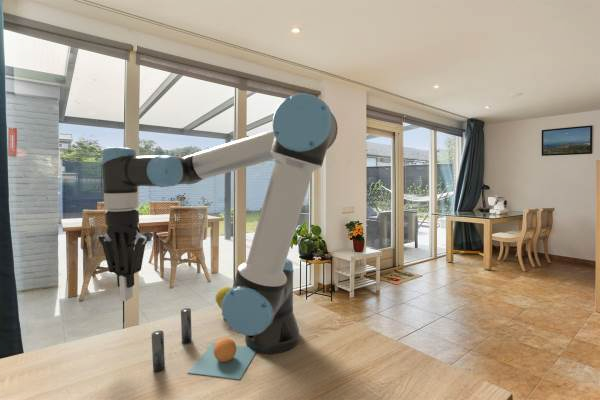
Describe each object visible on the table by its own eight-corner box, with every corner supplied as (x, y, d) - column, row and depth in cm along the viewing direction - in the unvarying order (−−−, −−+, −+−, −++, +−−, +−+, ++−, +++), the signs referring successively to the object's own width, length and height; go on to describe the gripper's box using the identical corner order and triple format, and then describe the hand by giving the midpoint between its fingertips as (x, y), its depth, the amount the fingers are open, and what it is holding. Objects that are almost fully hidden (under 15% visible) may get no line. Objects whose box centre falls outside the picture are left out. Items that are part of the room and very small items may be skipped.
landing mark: (257, 348, 85) (257, 347, 85) (240, 379, 72) (240, 379, 72) (212, 343, 87) (212, 343, 87) (187, 373, 75) (187, 372, 75)
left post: (167, 366, 77) (165, 331, 76) (160, 373, 75) (159, 336, 74) (157, 365, 78) (155, 330, 77) (150, 372, 75) (149, 335, 74)
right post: (193, 339, 90) (192, 308, 89) (188, 344, 87) (187, 312, 86) (185, 338, 90) (184, 307, 89) (180, 343, 88) (178, 311, 87)
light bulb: (232, 323, 99) (231, 292, 98) (212, 321, 100) (211, 290, 100) (240, 313, 106) (239, 284, 105) (221, 312, 107) (220, 283, 106)
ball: (233, 330, 82) (215, 338, 83) (224, 341, 76) (205, 350, 78) (243, 349, 82) (225, 357, 83) (235, 361, 76) (216, 370, 78)
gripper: (154, 208, 84) (158, 295, 86) (110, 207, 86) (115, 291, 88) (134, 211, 76) (139, 306, 79) (87, 210, 79) (93, 302, 81)
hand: (126, 298), depth 83 cm, fingers closed
